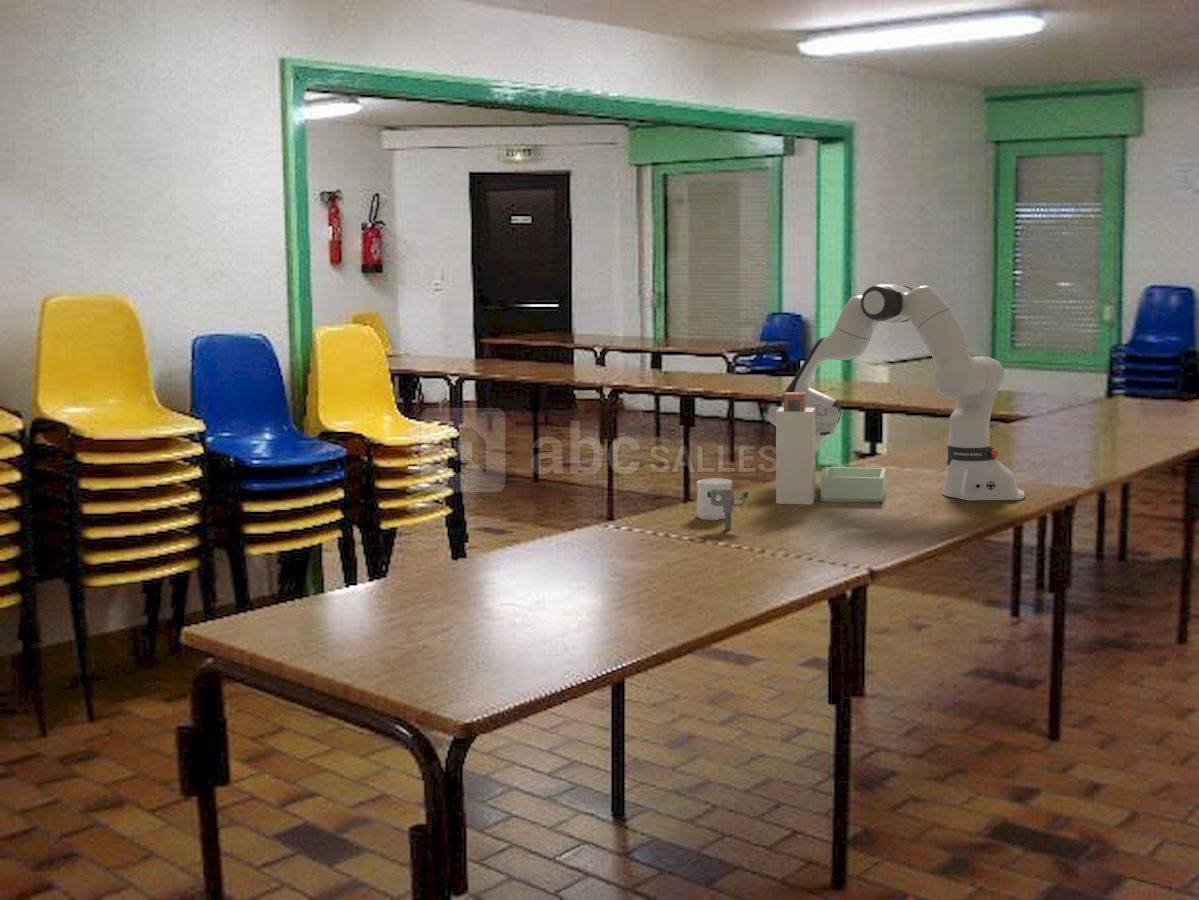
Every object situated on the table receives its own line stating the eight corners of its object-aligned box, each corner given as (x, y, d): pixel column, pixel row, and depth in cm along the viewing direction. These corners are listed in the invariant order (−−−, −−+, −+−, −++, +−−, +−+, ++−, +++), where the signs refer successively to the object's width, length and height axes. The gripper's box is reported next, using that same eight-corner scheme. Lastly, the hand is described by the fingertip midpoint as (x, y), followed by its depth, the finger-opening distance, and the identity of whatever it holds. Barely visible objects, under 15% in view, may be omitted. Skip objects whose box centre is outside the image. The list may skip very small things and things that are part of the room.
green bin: (885, 491, 383) (885, 468, 382) (882, 503, 367) (882, 478, 366) (826, 490, 387) (826, 466, 386) (820, 501, 371) (821, 477, 370)
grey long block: (810, 404, 381) (810, 387, 380) (804, 411, 364) (804, 394, 363) (791, 403, 382) (791, 387, 381) (783, 411, 365) (783, 394, 365)
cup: (731, 512, 359) (731, 477, 357) (733, 520, 349) (732, 484, 348) (696, 513, 360) (696, 477, 358) (697, 520, 350) (696, 484, 348)
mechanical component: (747, 530, 336) (747, 492, 334) (707, 529, 338) (706, 491, 336) (748, 528, 339) (748, 489, 337) (708, 527, 341) (708, 489, 339)
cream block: (815, 498, 376) (815, 407, 372) (812, 504, 367) (812, 411, 363) (780, 497, 378) (779, 407, 374) (776, 503, 370) (775, 411, 366)
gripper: (771, 413, 398) (765, 395, 385) (840, 414, 392) (836, 395, 380) (770, 433, 395) (764, 415, 383) (839, 433, 390) (835, 415, 378)
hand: (801, 405), depth 381 cm, fingers open, 8 cm apart
